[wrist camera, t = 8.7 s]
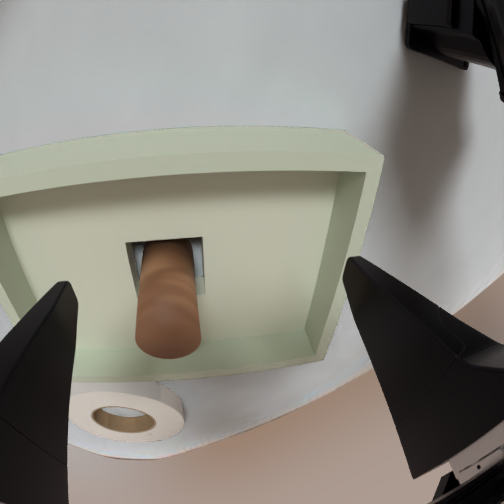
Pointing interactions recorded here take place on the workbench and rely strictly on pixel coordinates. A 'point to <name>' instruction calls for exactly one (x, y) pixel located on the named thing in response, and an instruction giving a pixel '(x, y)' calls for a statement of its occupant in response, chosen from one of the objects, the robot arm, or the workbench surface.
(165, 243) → the peg
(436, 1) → the robot arm
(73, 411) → the roll of tape
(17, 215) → the box
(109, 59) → the workbench surface
